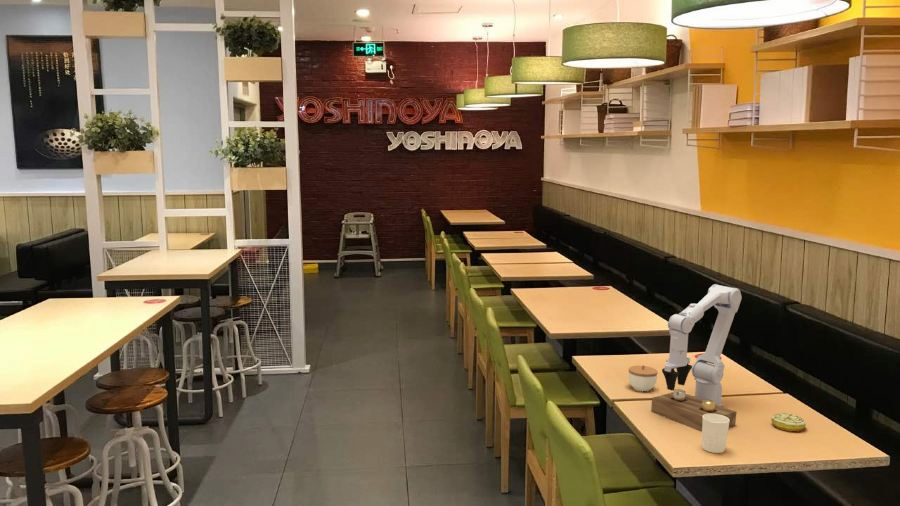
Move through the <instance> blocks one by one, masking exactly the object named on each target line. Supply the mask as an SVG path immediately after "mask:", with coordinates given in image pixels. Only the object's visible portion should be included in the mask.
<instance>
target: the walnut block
mask: <svg viewBox="0 0 900 506" xmlns="http://www.w3.org/2000/svg"><path fill="white" fill-rule="evenodd" d="M673 392H674V391H672V392H668V393H665V394H661V395H657V396H653V397H651V407H650V408H651V410H650V412H652V413H654V414H657V415H659V416H662V417H664V416H665V418H667V419H669V418H670V419H669V420H672V421H674V420H675V422H678V423H680V424H682V425H685V426H688V427H690V428H693V429H695V430H697V431H700V432H702V416H703V415H705V414H719V415H723V416H725V417H727V418H729V420H730V421H729V428H728V429H730V428H732V427H733V428H734V427H735V426H736V422H737V411H736V410H732V409H730V408H728V407H725V406H719V405H716V404H715V411H714V412H713V413H708V412H705V411H702V403H703V400H702V399H699V398H696V397H695V395H694V396H693V395H690V394H688V393H685V401H684V402H678V401H675V400H673Z"/></svg>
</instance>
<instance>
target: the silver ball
mask: <svg viewBox="0 0 900 506" xmlns="http://www.w3.org/2000/svg"><path fill="white" fill-rule="evenodd" d="M672 392H673V400H675V401H678V402H684V401H685V394H687V393H686V390H684V389H680V388H674V390H673V391H672Z"/></svg>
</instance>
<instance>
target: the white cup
mask: <svg viewBox="0 0 900 506" xmlns="http://www.w3.org/2000/svg"><path fill="white" fill-rule="evenodd" d="M729 421H730V420H729V418H727V417H725V416H723V415H719V414H705V415H703V416H702V431H701V441H702V443H701V448H702V449H703V450H705V451H706V452H709V453H712V454H722V453H724V452H725V451H726V446H727V445H726V444H727V440H728V435H729V429H730V428H729Z"/></svg>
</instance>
